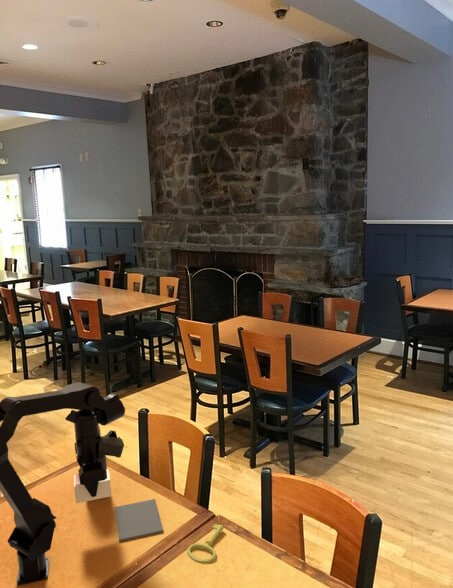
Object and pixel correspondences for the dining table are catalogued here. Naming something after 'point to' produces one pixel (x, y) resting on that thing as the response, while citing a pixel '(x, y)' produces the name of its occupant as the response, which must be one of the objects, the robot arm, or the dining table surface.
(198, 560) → the key
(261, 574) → the dining table surface
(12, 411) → the robot arm
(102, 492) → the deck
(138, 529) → the mat
